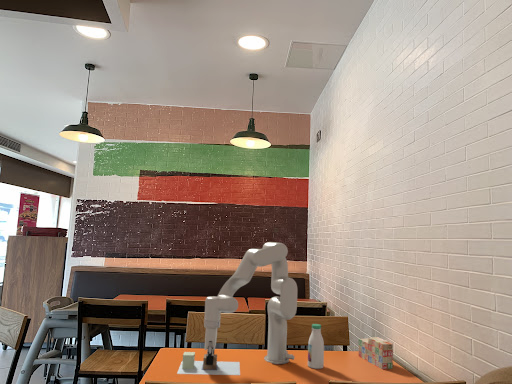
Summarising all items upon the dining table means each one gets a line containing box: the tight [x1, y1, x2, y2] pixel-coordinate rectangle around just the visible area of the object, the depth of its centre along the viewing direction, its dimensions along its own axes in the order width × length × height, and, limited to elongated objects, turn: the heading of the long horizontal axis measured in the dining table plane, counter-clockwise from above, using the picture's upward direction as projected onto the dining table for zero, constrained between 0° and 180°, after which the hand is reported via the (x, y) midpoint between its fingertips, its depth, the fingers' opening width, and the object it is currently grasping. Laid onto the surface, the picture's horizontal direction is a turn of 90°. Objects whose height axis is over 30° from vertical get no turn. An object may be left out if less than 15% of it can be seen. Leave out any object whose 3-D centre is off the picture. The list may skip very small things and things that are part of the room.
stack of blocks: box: [358, 336, 394, 370], centre depth 203 cm, size 21×6×12 cm, turn 18°
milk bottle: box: [307, 323, 325, 370], centre depth 192 cm, size 8×8×20 cm
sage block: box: [182, 351, 196, 369], centre depth 181 cm, size 5×5×6 cm
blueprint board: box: [176, 360, 241, 376], centre depth 182 cm, size 28×18×1 cm, turn 93°
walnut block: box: [202, 353, 218, 370], centre depth 182 cm, size 6×6×5 cm
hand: (210, 361), depth 182 cm, fingers open, 9 cm apart
